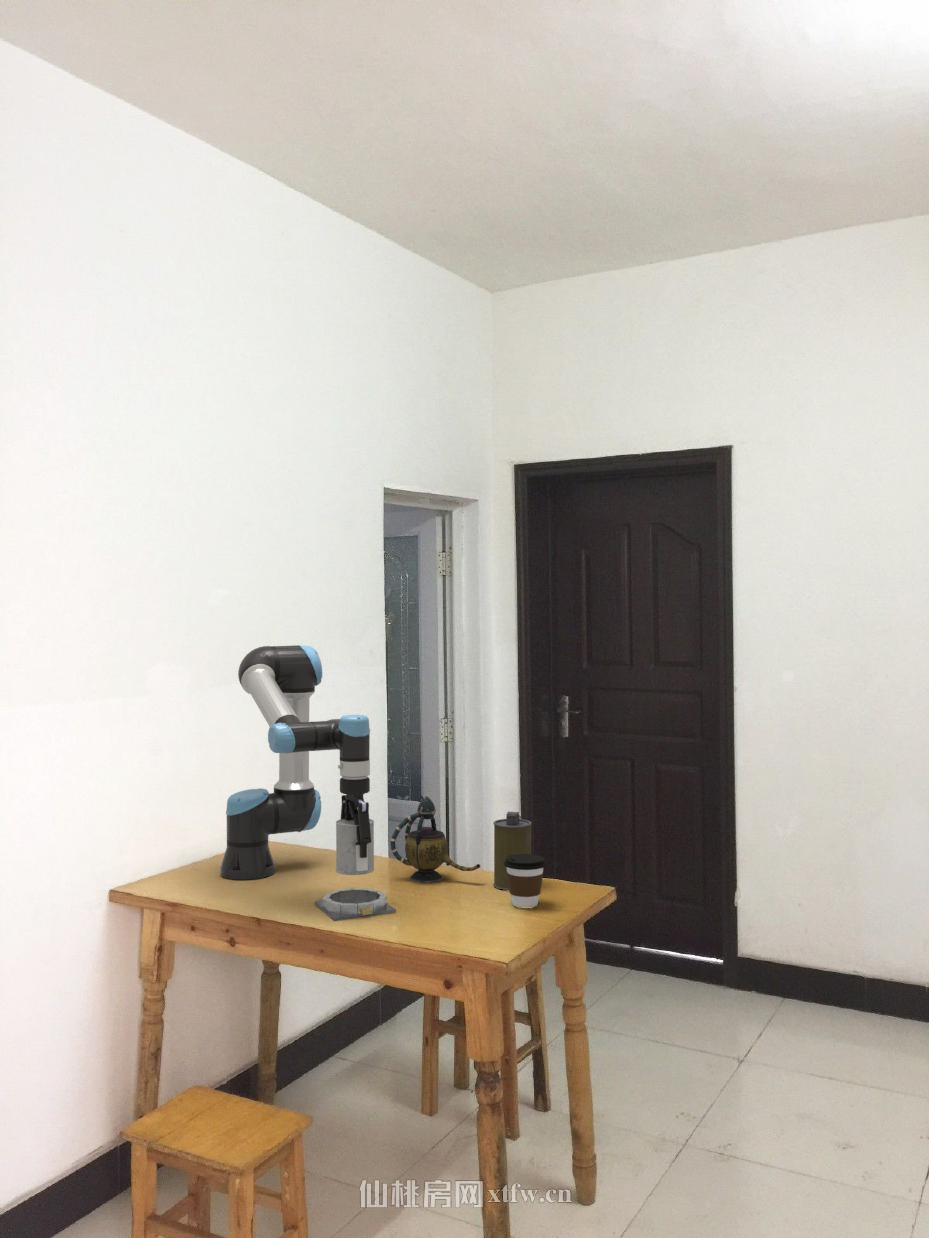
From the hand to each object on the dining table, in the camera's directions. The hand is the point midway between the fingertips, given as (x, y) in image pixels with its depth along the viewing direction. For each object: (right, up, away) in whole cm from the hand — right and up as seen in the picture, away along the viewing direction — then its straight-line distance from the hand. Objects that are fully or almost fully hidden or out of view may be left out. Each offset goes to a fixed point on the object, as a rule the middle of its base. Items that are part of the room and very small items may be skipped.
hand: (355, 865), depth 265 cm
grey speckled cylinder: (0, -1, 0) cm, 1 cm away
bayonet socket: (0, -11, 0) cm, 11 cm away
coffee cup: (+43, -11, +3) cm, 44 cm away
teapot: (+20, -11, +28) cm, 36 cm away
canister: (+41, -11, +22) cm, 47 cm away
